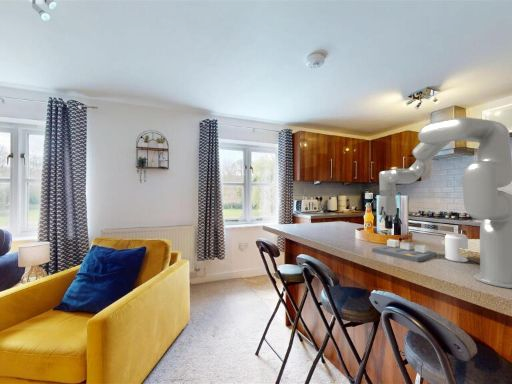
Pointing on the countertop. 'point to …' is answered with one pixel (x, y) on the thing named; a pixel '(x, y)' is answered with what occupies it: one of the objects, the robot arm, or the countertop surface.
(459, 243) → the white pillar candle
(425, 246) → the knob
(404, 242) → the knob
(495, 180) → the robot arm
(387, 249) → the switch panel
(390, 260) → the countertop surface
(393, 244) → the knob
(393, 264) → the countertop surface
